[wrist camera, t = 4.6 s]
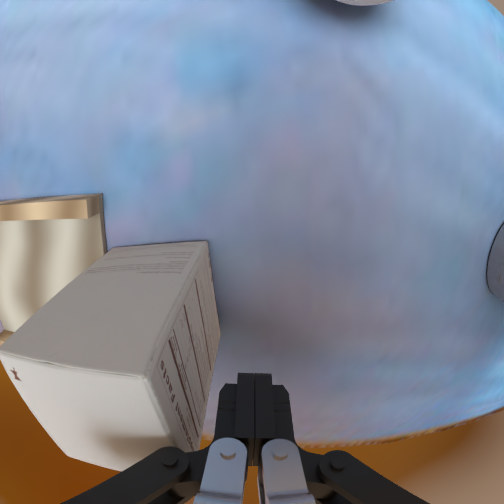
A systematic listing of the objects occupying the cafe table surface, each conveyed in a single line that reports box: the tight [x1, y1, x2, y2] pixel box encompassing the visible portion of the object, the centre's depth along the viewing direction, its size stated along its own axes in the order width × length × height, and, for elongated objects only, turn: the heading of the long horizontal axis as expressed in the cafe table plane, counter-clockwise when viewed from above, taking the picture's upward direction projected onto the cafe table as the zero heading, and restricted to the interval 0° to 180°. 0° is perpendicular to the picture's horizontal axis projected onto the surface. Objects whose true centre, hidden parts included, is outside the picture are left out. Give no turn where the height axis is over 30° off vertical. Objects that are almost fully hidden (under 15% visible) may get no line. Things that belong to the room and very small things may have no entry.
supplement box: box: [0, 241, 221, 471], centre depth 14 cm, size 7×7×13 cm
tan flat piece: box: [0, 194, 107, 346], centre depth 19 cm, size 14×14×2 cm
